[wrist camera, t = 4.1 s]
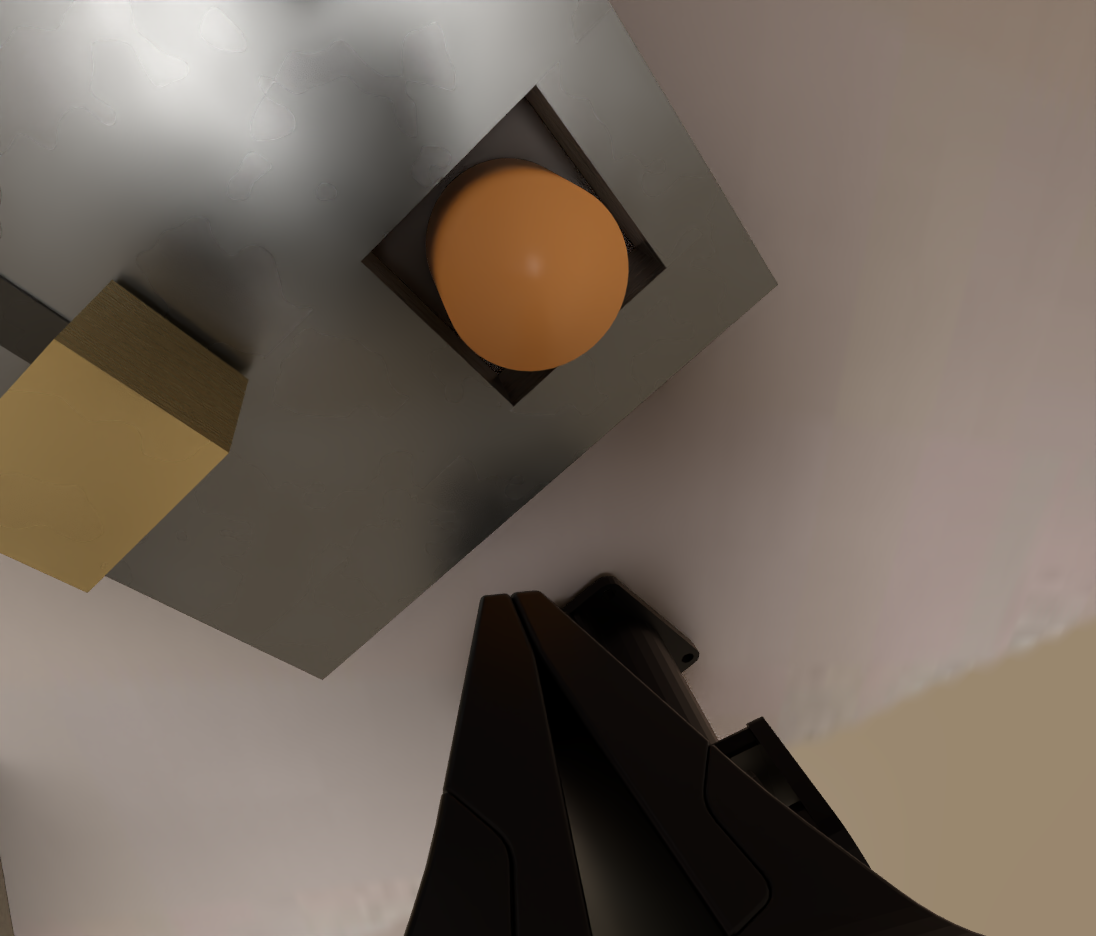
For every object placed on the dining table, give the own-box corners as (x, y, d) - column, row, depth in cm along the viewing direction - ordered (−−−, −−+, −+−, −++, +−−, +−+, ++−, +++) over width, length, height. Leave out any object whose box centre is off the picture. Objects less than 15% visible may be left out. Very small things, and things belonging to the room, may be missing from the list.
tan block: (248, 379, 14) (228, 452, 12) (130, 498, 15) (87, 592, 12) (112, 279, 13) (54, 339, 10) (-13, 417, 13) (-99, 508, 11)
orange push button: (615, 250, 17) (662, 284, 15) (501, 355, 18) (528, 404, 15) (515, 117, 15) (550, 131, 12) (390, 243, 16) (399, 279, 13)
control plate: (739, 264, 19) (780, 285, 17) (323, 632, 21) (322, 682, 20) (-301, -1393, 6) (-532, -1921, 5) (-932, -33, 9) (-1219, -52, 8)
